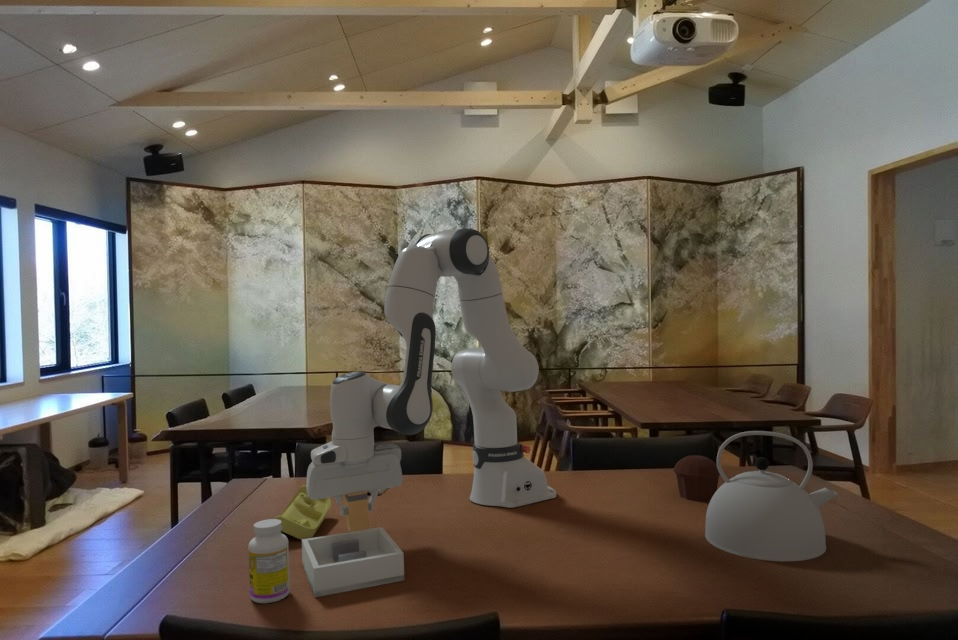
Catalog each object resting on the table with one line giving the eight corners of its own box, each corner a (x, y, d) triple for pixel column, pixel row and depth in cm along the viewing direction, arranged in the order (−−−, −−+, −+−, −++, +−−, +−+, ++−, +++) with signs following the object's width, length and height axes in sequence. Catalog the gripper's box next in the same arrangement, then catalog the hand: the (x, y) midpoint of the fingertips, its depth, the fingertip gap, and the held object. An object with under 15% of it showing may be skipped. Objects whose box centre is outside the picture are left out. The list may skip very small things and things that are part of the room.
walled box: (382, 551, 133) (382, 526, 133) (404, 580, 118) (403, 553, 118) (302, 565, 127) (301, 539, 127) (314, 597, 112) (313, 568, 112)
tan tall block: (365, 522, 142) (363, 486, 142) (369, 528, 138) (367, 491, 138) (346, 526, 141) (344, 489, 140) (350, 532, 137) (348, 494, 137)
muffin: (731, 497, 164) (730, 457, 163) (703, 505, 157) (702, 464, 157) (692, 487, 173) (691, 449, 173) (664, 495, 167) (663, 456, 167)
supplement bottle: (255, 589, 116) (253, 517, 116) (293, 587, 117) (291, 515, 117) (245, 606, 110) (242, 530, 109) (285, 603, 110) (283, 528, 110)
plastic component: (314, 531, 140) (271, 512, 140) (300, 561, 140) (258, 542, 140) (336, 498, 160) (298, 481, 159) (324, 524, 160) (287, 508, 160)
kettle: (828, 528, 139) (826, 423, 139) (850, 568, 118) (848, 445, 118) (705, 519, 148) (703, 420, 147) (705, 555, 126) (702, 439, 126)
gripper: (396, 439, 146) (400, 500, 146) (303, 452, 138) (306, 516, 139) (404, 445, 140) (407, 508, 140) (307, 458, 132) (311, 525, 133)
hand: (356, 512), depth 139 cm, fingers closed on tan tall block, 4 cm apart
